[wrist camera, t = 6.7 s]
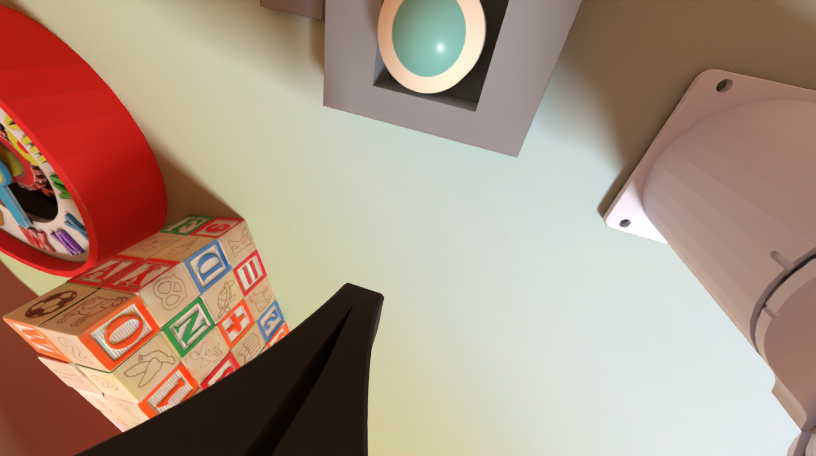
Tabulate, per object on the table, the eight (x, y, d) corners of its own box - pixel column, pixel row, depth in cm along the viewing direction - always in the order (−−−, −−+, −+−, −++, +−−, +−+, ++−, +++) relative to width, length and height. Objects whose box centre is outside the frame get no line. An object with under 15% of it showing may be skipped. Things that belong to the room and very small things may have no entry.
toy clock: (-1, 36, 14) (133, 307, 26) (124, 37, 19) (191, 265, 31) (-293, -50, 17) (-50, 236, 28) (-114, -30, 21) (31, 207, 33)
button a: (499, -8, 13) (499, -23, 10) (471, 90, 15) (464, 104, 12) (412, -26, 13) (384, -46, 10) (397, 72, 16) (371, 80, 13)
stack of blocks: (308, 373, 36) (232, 504, 26) (263, 363, 37) (176, 482, 27) (245, 217, 25) (70, 339, 15) (186, 212, 26) (-9, 319, 16)
